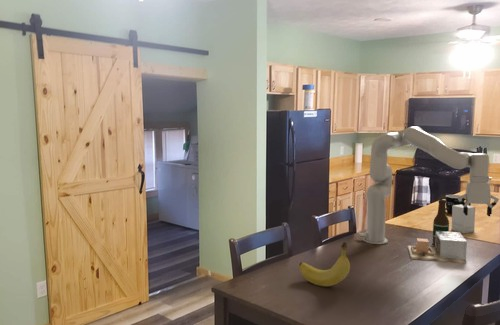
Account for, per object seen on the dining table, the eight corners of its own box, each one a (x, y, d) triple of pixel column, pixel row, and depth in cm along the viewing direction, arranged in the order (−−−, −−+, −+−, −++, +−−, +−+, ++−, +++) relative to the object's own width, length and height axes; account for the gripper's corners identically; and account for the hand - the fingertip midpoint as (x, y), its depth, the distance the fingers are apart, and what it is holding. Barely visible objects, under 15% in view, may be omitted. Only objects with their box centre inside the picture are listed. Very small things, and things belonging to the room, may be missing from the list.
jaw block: (417, 253, 204) (417, 241, 203) (416, 249, 209) (416, 238, 208) (428, 253, 203) (428, 241, 202) (426, 250, 207) (427, 238, 207)
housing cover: (440, 257, 196) (441, 239, 195) (435, 247, 211) (435, 230, 210) (465, 260, 193) (466, 241, 192) (459, 249, 208) (459, 232, 207)
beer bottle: (450, 247, 216) (452, 201, 214) (434, 246, 218) (436, 201, 215) (446, 242, 224) (448, 198, 221) (430, 241, 225) (432, 198, 223)
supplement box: (474, 231, 244) (476, 206, 243) (463, 233, 241) (464, 208, 239) (461, 228, 253) (463, 203, 251) (450, 229, 249) (451, 205, 248)
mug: (436, 211, 298) (437, 194, 296) (454, 209, 302) (455, 193, 301) (454, 216, 282) (454, 199, 281) (472, 214, 287) (473, 197, 286)
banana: (295, 280, 173) (295, 233, 171) (303, 276, 178) (303, 230, 175) (345, 295, 159) (346, 244, 156) (352, 290, 163) (353, 240, 161)
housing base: (410, 258, 199) (411, 253, 199) (407, 247, 216) (407, 242, 216) (466, 263, 192) (466, 257, 192) (458, 251, 209) (458, 246, 209)
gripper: (497, 178, 196) (495, 214, 198) (456, 178, 201) (455, 212, 203) (501, 181, 189) (500, 218, 191) (460, 180, 194) (458, 216, 196)
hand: (477, 215), depth 197 cm, fingers open, 9 cm apart
